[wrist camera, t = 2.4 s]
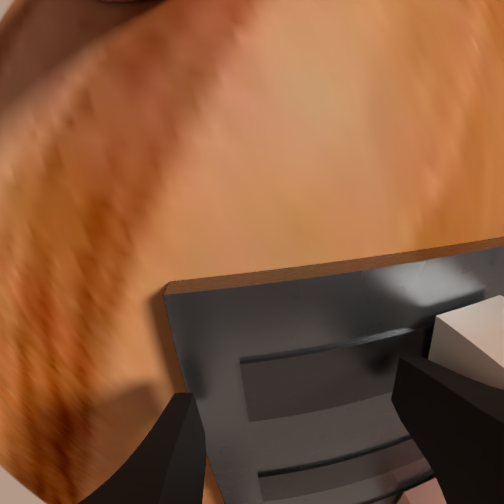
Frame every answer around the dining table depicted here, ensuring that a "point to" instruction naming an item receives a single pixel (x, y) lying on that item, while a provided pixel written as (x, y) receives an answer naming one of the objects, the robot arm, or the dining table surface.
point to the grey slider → (472, 341)
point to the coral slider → (424, 494)
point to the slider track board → (318, 369)
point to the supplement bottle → (117, 0)
